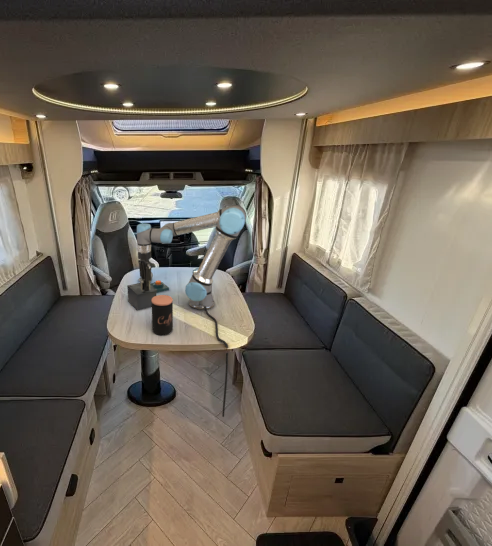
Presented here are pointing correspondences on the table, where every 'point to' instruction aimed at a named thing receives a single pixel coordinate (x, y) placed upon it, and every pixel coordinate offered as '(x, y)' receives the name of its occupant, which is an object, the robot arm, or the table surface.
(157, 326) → the coffee jar
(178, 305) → the table surface
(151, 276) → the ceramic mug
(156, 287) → the control block
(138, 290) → the box lid
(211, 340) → the table surface
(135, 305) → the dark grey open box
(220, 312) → the table surface
